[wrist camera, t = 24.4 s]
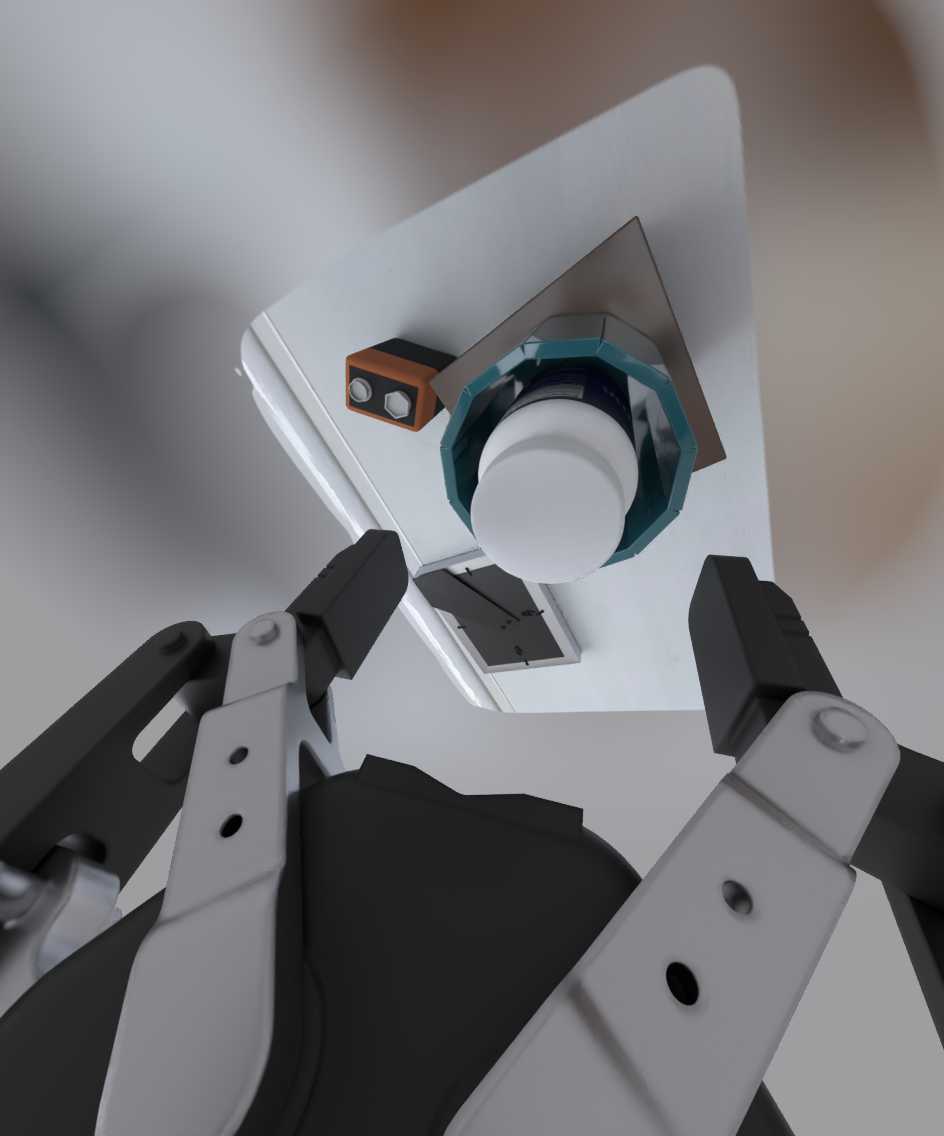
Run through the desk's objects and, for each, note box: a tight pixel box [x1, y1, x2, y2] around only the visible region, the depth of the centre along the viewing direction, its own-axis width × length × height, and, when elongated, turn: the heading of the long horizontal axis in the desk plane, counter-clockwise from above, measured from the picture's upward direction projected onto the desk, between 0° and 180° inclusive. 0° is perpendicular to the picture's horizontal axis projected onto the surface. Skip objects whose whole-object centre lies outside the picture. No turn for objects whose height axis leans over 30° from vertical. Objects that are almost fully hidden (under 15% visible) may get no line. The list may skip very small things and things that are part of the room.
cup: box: [440, 313, 698, 569], centre depth 17 cm, size 9×9×7 cm
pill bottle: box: [471, 361, 638, 584], centre depth 16 cm, size 6×6×10 cm
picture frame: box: [412, 549, 581, 674], centre depth 54 cm, size 16×3×21 cm
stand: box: [429, 216, 726, 473], centre depth 26 cm, size 11×11×18 cm
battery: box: [346, 338, 457, 432], centre depth 34 cm, size 4×7×10 cm, turn 77°
